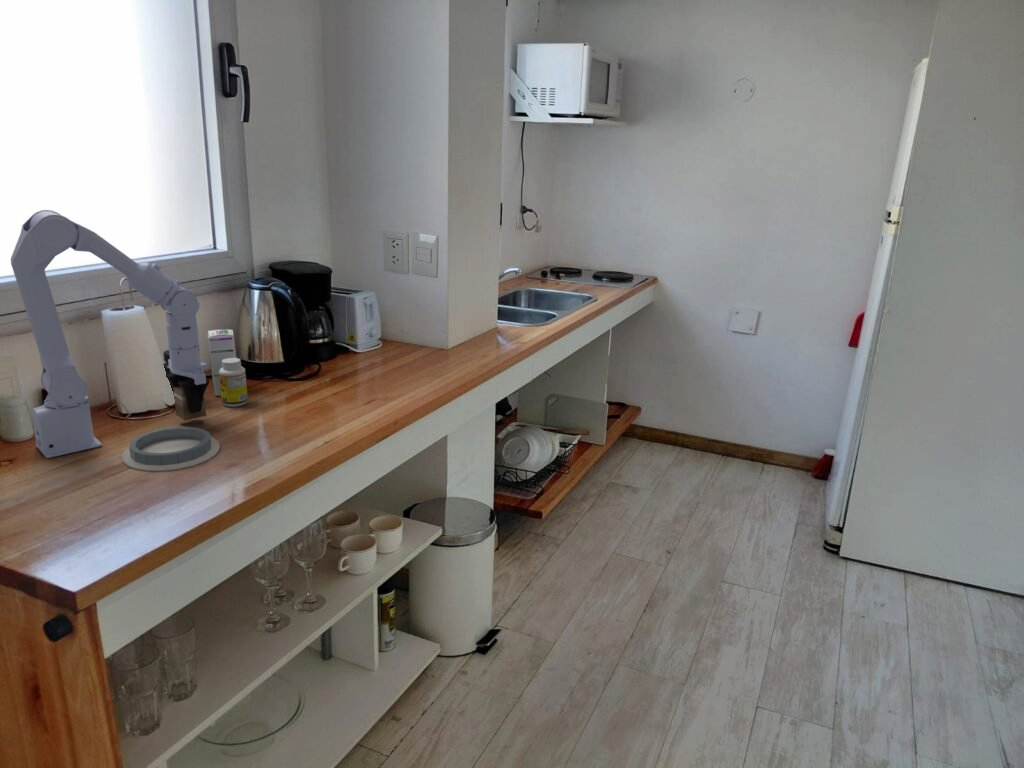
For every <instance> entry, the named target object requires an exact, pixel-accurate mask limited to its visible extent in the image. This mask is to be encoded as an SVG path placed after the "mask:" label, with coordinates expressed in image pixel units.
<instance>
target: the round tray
mask: <svg viewBox="0 0 1024 768" xmlns="http://www.w3.org/2000/svg"><path fill="white" fill-rule="evenodd" d="M220 445H221V444H220V442H219V440H217V439H215V438H214V437H212V436H211V433H210V432H209V431H207V430H206V429H203V428H200V427H199V428H198V427H193V426H192V427H191V426H174V427H164V428H163V427H162V428H159V429H155V430H150V431H147V432H145V433H142V434H140V435H138V436H136V437H135V438H134V439H132V440H131V441H130V442H129V446H128V448H127V449H125V450H124V451H123V453H122V456H121V460H122V463H123V464H124V465H125V466H127V467H128V468H131V469H134V470H137V471H144V472H168V471H169V472H170V471H176V470H181V469H187V468H191V467H194V466H197V465H200V464H204V463H205V462H207V461H209V460H212V459H213V458H214V457H215V456H216V455H217V454H219V451H220V449H221V448H220V447H221V446H220Z"/></svg>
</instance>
